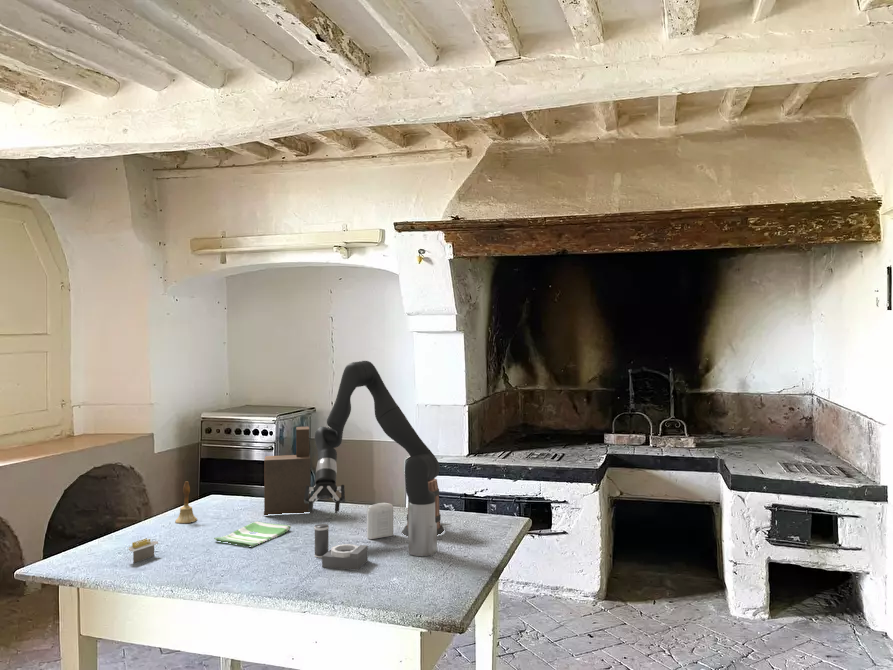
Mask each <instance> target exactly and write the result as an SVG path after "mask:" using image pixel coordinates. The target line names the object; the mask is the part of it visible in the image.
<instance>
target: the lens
mask: <svg viewBox="0 0 893 670" xmlns="http://www.w3.org/2000/svg"><path fill="white" fill-rule="evenodd" d="M313 528H314V554H313V555H314V557H315V558H316V557H318V558H317V559H322V556H323V555H324V554H326V553H327V552H328V551H330V549H329V533H330V531H329V529H330V525H329V524H327V523H320V524H319V523H318V524H315V525H314V527H313Z"/></svg>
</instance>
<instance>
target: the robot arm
mask: <svg viewBox="0 0 893 670" xmlns="http://www.w3.org/2000/svg"><path fill="white" fill-rule="evenodd" d="M361 387H365V388H366V389H368V391H369V393H370V394H371V396H372V398H373V405H374V416H375V420H376V421H377V423H378V424H379V426H380V428H381V429H382V431H383V432H384V433H385V435H386V436H387V437H388V438H390V439H391V440H392V441H393V442H395V443H396V444H398V445H399V446H401V448H403V449H404V450H405V451H406V452H407V454H408V455H409V456H410V457H409V458H408V459H407V460H406V464H405V467H404V481H405V492H406V496H407V500H408V501H407V514H408V537H407V538H408V540H407V541H408V543H407V548H408V550H407V551H408V554H410V555H412V556H415V557H416V556H417V557H428V556H431V555H432V556H434V554H435V553H436V552H437V550H438V537H437V523H436V522H435V494H434V493H433V492H431V491H429V488H428V480H431V479H434V478H435V479H436V478H437V477H438V476H439V473H440V470H441V469H440V463H439V461H438V459H437V457H436V456H435V455H434V453H433V452H432V451H431V450H430V448H429V447H428V446H427V445H426V444H425V443H424V441H423V440H422V438H420V436H419V434H418V433H417V432H416V430H415V429H414V427H413V426H412V425H411V423H410V421H409V420H408V418H407V417H406V414H404V412H403V411H402V409H401V408H400V406H399V405H398V404H397V403H396V401H395V399H394V398H393V396H392V395H391V392H390V391H389V390H388V387H386V384H385V382H384V381H383V379H382V377H381V375H380V373H379V371H378V369H377V368H376V366H375V365H374V364H373V363H372V362H371V361H369V360H361V361H352V362H350V363H348V364H347V365H346V366H345V367H344V369H343V372H342V375H341V380H340V383H339V387H338V391H337V394H336V399H335V401H334V404H333V406H332V408H331V410H330V412H329V414H328V416H327V419H326V424H327V426H328V427H327V426H319V427H318V428H317V429H316V430H315V433H314V443H315V447H316V451H317V461H316V462H317V463H316V468H315V480H314V486H310V487H309V486H308V485H307V486H306V489H305V495H304V502H305V504H307V503H308V504H309V508H308V510H309V512H310V514H309V515H313V514H314V513H313V512H314V504H315V502H317V501H318V500H319V499H320V500H323V499H328V500H329V499H331V500H332V501H333V502H334V503H335V504H334V513H335V514H338V512H340V506H341V505H340V504H342V503H345V502H346V497H345V496H346V494H345V491H346V490H345V489H346V488H345V484H341V485H340V486H337V474H338V466H337V462H338V461H337V458H338V451H337V450H336V449H337V448H338V447H340V446H341V444H342V442H343V434H344V433H343V432H344V429H345V426H346V424H347V422H348V419H349V417H350V415H351V412H352V403H351V398H352V395H353V394H354V391H355V390H356V389H357V388H361ZM312 492H313V494H312ZM336 492H339V493H340V494H341V495H340V496H341V497H339V496H338V495H337V493H336ZM309 494H310V495H311V494H312V496H310V499H309Z"/></svg>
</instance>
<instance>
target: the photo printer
mask: <svg viewBox="0 0 893 670" xmlns="http://www.w3.org/2000/svg"><path fill="white" fill-rule="evenodd" d="M393 535H394V506H393V504H392V503H387V502H378V503H374V504H371V505H369V506H368V507H367V509H366V538H367V539H368V540H375V539H380V538H387V537H393Z"/></svg>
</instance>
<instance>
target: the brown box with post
mask: <svg viewBox="0 0 893 670" xmlns="http://www.w3.org/2000/svg"><path fill="white" fill-rule="evenodd" d="M295 431H296V432H295V433H296V435H295V436H296V437H295V441H296V442H295V443H296V444H295V445H296V446H295V447H296V454H291V455H290V454H286V455H285V454H284V455H266V456H265V457H264V462H263V463H264V465H263V466H264V469H263V471H264V473H263V476H264V481H263V482H264V489H263V490H264V491H263V495H264V501H263V503H264V504H263V505H264V506H263V507H264V508H263V509H264V511H263V516H264V515H268V514H282V513H304V512H309V510H308V508H309V504H308V503H307V504H305V502H304V495H305V489H306V486H307V485H308V486H309V487H311V454H310V427H309V426H296V430H295ZM310 498H311V493H310V494H309V499H310Z"/></svg>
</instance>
